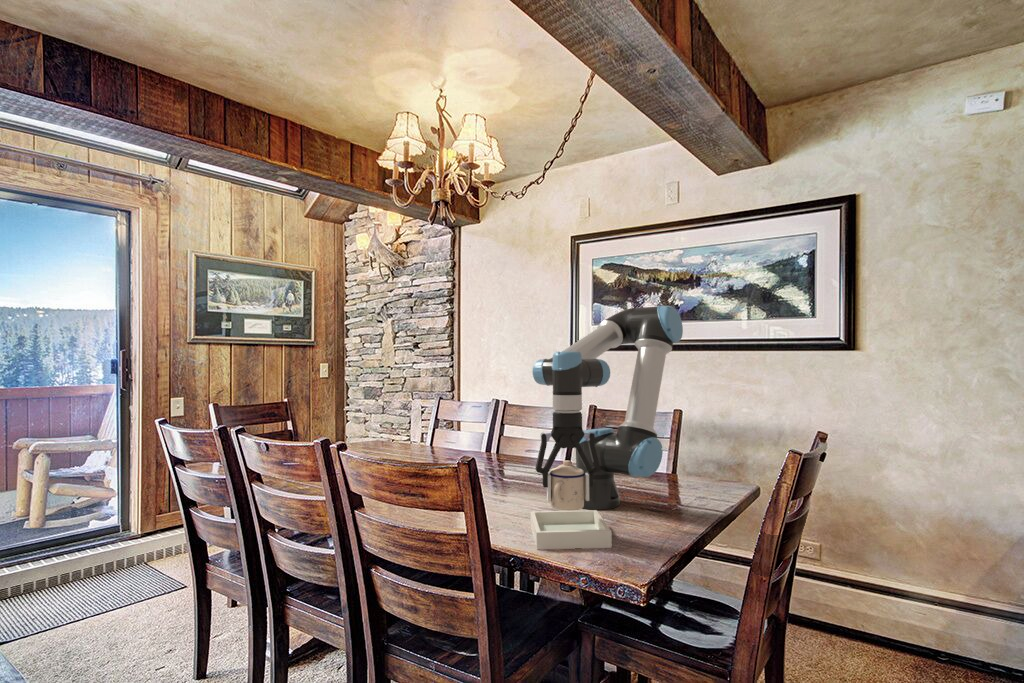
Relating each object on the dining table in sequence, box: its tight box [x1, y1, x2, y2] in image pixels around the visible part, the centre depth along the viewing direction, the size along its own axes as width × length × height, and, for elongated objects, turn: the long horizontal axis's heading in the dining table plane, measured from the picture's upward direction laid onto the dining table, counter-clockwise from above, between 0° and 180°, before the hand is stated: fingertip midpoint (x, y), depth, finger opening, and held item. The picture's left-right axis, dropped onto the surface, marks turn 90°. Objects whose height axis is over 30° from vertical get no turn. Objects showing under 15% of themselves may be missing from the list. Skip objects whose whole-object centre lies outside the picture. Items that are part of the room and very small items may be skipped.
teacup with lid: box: [549, 459, 585, 511], centre depth 140 cm, size 12×9×12 cm
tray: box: [530, 509, 613, 550], centre depth 139 cm, size 18×18×4 cm
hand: (567, 499), depth 139 cm, fingers closed on teacup with lid, 9 cm apart
